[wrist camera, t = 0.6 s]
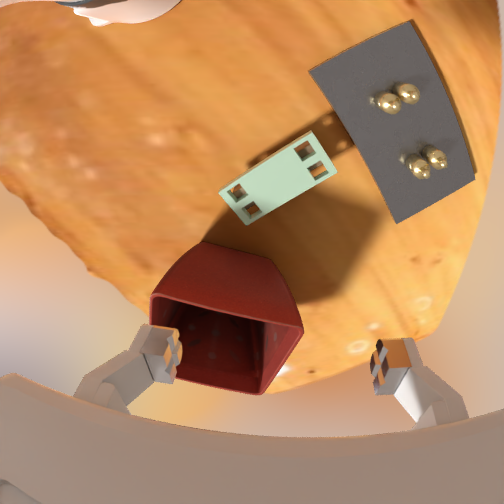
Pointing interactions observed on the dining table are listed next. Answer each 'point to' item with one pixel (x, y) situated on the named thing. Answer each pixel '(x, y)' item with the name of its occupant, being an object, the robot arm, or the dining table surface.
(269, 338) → the plant pot
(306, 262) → the dining table surface
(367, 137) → the peg assembly base
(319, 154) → the board
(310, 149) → the stand
